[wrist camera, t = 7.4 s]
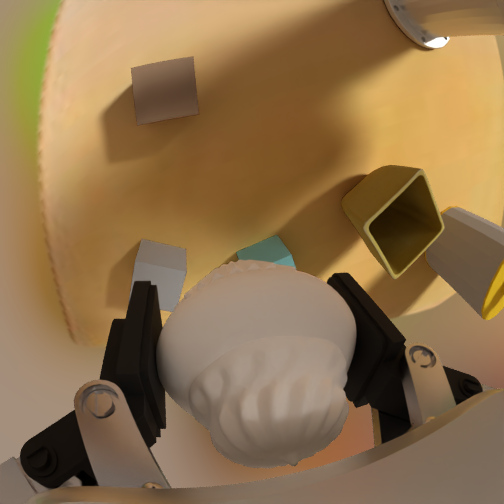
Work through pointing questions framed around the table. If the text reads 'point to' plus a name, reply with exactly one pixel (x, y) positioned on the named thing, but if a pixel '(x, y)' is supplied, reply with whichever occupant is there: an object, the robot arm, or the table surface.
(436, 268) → the soap bottle
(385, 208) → the flower pot
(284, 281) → the muffin
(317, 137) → the table surface
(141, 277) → the grey cube
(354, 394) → the robot arm
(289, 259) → the teal cube
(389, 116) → the table surface
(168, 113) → the walnut cube
